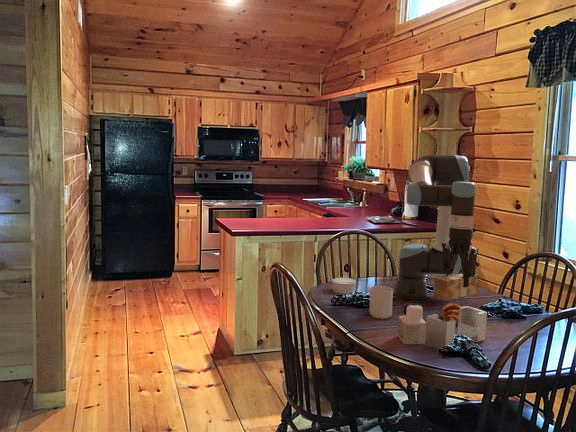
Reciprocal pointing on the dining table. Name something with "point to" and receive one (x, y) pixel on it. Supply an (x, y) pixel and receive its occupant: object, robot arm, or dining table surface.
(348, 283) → the ramekin
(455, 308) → the croissant
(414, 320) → the container
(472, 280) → the rail
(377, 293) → the mug
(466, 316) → the brackets
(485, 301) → the dining table surface
